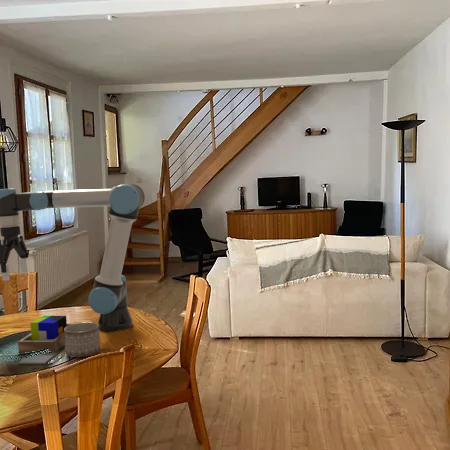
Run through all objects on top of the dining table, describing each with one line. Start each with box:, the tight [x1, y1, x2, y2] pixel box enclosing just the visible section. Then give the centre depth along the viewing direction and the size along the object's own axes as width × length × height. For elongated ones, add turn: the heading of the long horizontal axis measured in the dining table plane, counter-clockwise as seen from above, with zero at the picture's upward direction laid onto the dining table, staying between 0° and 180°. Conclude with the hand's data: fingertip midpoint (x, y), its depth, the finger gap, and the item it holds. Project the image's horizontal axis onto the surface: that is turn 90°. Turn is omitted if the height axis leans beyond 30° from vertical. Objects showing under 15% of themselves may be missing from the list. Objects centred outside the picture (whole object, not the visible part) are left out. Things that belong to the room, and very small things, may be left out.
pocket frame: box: [17, 322, 76, 354], centre depth 204 cm, size 23×14×4 cm, turn 173°
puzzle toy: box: [30, 315, 68, 341], centre depth 204 cm, size 10×10×10 cm
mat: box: [18, 352, 58, 365], centre depth 186 cm, size 10×10×1 cm
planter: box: [64, 321, 101, 358], centre depth 190 cm, size 13×13×10 cm
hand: (15, 276), depth 209 cm, fingers open, 13 cm apart
